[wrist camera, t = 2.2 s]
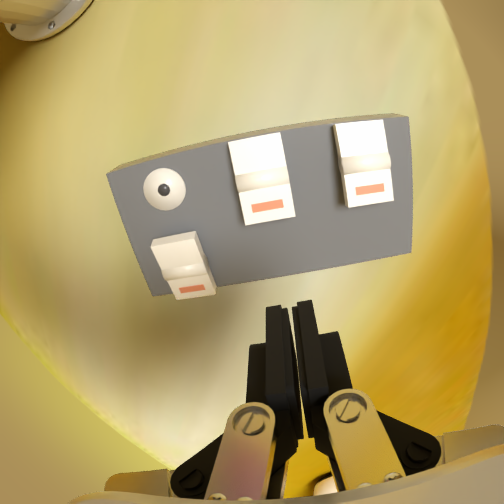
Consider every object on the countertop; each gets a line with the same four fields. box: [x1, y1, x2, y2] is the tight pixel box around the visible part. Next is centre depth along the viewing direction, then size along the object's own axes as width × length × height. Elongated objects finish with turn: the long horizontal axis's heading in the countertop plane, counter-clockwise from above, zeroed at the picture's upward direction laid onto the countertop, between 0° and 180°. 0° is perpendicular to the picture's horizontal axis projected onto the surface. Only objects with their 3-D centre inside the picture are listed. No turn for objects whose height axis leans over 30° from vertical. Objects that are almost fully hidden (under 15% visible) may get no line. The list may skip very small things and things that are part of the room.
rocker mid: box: [228, 132, 296, 225], centre depth 22 cm, size 6×4×2 cm, turn 11°
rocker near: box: [333, 120, 394, 208], centre depth 21 cm, size 6×4×2 cm, turn 11°
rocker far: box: [151, 231, 217, 300], centre depth 25 cm, size 6×4×2 cm, turn 12°
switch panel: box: [106, 113, 413, 296], centre depth 25 cm, size 12×24×3 cm, turn 101°
